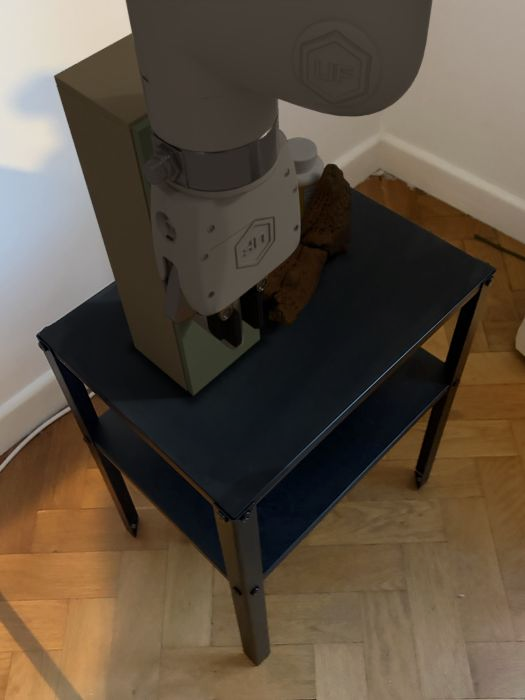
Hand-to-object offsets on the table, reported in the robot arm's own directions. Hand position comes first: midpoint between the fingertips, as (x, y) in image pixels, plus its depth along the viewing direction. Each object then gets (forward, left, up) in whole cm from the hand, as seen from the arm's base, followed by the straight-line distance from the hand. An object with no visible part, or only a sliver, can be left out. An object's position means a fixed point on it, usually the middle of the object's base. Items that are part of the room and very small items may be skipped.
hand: (236, 326), depth 58 cm
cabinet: (+1, -11, -14) cm, 18 cm away
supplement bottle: (-17, -22, -14) cm, 31 cm away
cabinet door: (-2, -4, -14) cm, 15 cm away
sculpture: (-13, -13, -14) cm, 24 cm away
